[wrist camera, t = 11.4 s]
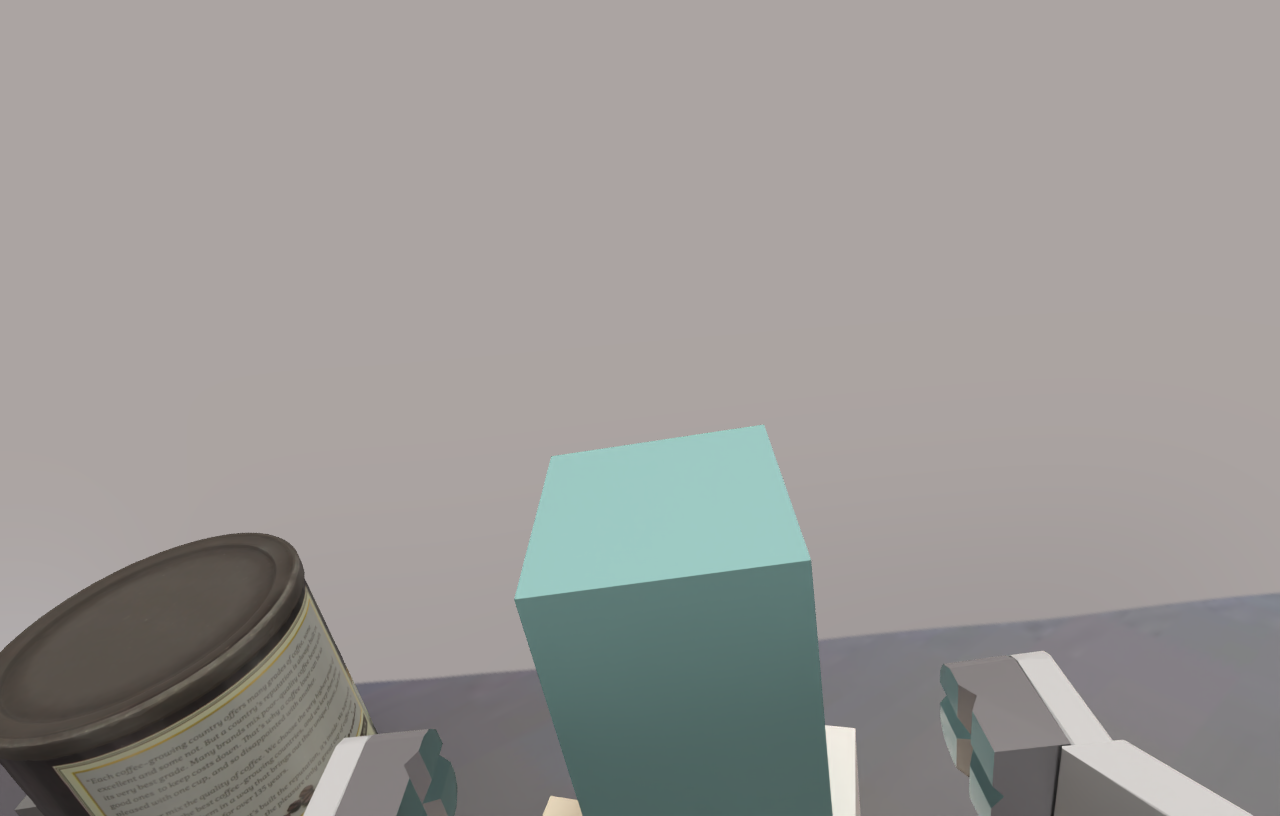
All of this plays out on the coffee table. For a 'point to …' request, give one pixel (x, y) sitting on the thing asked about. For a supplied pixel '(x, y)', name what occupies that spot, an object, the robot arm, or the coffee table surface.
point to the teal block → (678, 630)
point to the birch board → (562, 807)
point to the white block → (843, 770)
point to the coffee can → (180, 689)
